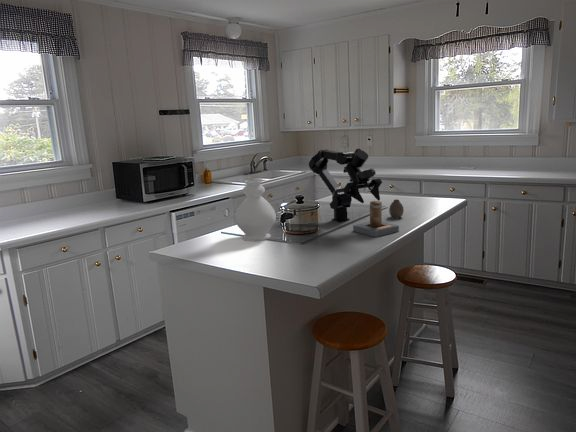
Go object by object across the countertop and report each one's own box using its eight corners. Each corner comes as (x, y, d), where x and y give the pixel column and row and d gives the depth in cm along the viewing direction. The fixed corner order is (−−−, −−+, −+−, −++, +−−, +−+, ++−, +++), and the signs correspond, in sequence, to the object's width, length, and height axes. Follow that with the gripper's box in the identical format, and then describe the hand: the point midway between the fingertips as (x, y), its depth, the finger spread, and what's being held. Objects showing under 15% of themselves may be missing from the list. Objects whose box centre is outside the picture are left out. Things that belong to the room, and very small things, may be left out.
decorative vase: (248, 245, 191) (244, 185, 186) (229, 236, 206) (225, 181, 200) (284, 237, 201) (282, 180, 195) (263, 229, 215) (260, 176, 210)
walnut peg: (368, 231, 205) (368, 203, 202) (372, 229, 209) (372, 200, 206) (379, 232, 202) (379, 203, 199) (383, 230, 207) (383, 201, 204)
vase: (387, 218, 228) (387, 200, 226) (391, 215, 234) (391, 198, 232) (401, 219, 224) (401, 201, 222) (404, 216, 230) (405, 198, 228)
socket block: (353, 230, 208) (353, 224, 207) (376, 225, 215) (376, 219, 214) (375, 236, 196) (375, 230, 196) (398, 231, 204) (398, 225, 203)
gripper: (346, 164, 201) (363, 193, 194) (379, 160, 210) (396, 187, 204) (336, 180, 210) (351, 208, 203) (368, 176, 219) (383, 202, 212)
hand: (371, 201), depth 205 cm, fingers open, 9 cm apart
